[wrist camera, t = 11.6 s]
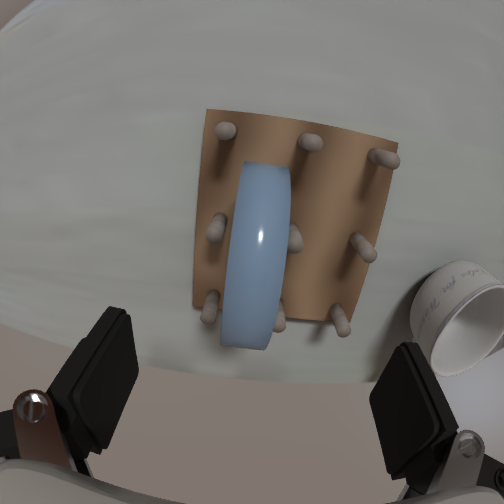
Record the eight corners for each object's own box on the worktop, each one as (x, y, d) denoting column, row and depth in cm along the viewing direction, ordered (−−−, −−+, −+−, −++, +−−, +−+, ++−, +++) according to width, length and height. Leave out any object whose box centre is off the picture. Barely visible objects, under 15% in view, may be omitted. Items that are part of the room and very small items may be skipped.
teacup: (458, 228, 24) (506, 262, 17) (485, 291, 27) (521, 328, 20) (358, 315, 29) (382, 370, 21) (401, 361, 32) (423, 409, 24)
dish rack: (390, 141, 22) (419, 147, 17) (346, 313, 28) (359, 346, 24) (210, 110, 21) (196, 105, 17) (195, 297, 28) (184, 329, 24)
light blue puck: (280, 156, 21) (301, 186, 11) (260, 286, 26) (260, 389, 15) (248, 152, 21) (236, 177, 11) (232, 282, 26) (216, 385, 15)
